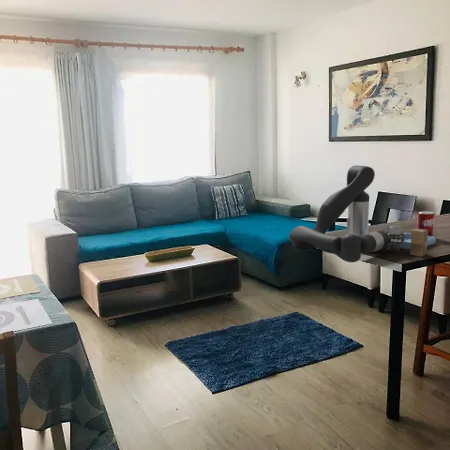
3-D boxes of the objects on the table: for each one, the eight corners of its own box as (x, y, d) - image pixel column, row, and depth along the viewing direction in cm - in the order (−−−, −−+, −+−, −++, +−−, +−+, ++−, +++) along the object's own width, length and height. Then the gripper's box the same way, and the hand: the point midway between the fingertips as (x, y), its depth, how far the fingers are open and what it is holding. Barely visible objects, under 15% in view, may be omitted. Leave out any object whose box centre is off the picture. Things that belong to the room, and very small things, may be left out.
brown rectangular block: (420, 256, 199) (422, 231, 197) (410, 254, 202) (411, 230, 200) (426, 254, 202) (427, 230, 200) (415, 252, 205) (417, 228, 203)
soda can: (412, 237, 233) (414, 211, 231) (425, 236, 235) (426, 210, 233) (424, 240, 226) (425, 214, 224) (436, 239, 229) (438, 213, 226)
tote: (414, 250, 208) (415, 243, 207) (384, 245, 218) (384, 238, 218) (435, 243, 220) (435, 237, 219) (405, 238, 230) (405, 232, 229)
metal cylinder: (386, 250, 208) (387, 227, 207) (387, 248, 213) (388, 224, 211) (399, 251, 207) (400, 227, 205) (400, 249, 211) (401, 225, 209)
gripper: (359, 247, 205) (381, 240, 216) (391, 253, 195) (412, 246, 206) (359, 229, 204) (382, 223, 215) (391, 234, 193) (414, 228, 204)
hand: (397, 234), depth 210 cm, fingers closed on metal cylinder, 5 cm apart
